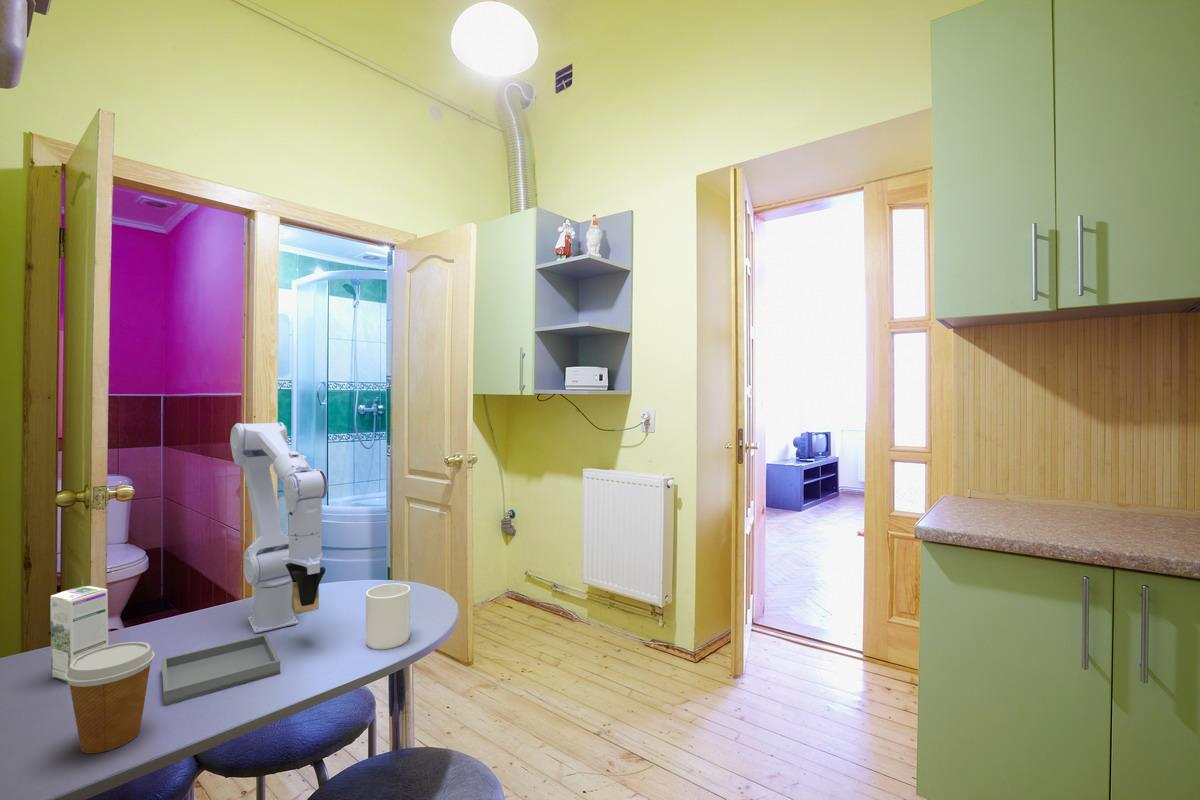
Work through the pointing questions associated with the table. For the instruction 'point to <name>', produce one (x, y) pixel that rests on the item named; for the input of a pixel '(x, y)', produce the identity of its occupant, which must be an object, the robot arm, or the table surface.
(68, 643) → the syrup box
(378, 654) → the table surface
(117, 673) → the disposable coffee cup
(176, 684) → the tray
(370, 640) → the cup
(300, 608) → the block
